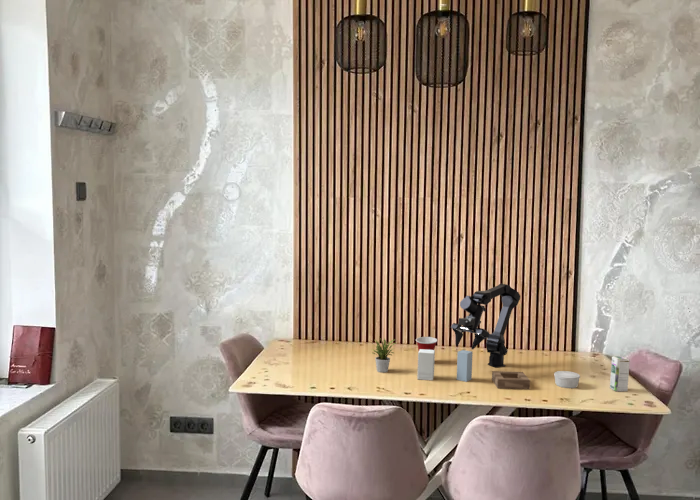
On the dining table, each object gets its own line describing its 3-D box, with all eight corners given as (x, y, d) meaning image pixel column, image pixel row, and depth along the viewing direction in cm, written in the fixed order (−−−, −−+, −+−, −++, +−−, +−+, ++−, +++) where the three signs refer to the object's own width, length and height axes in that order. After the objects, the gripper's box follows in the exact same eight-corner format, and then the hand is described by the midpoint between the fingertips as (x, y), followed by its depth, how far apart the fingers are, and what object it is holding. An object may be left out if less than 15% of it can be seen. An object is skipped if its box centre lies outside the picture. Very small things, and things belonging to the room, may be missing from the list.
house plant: (404, 369, 324) (405, 336, 323) (393, 376, 312) (394, 341, 310) (377, 366, 330) (377, 333, 329) (365, 372, 318) (366, 338, 316)
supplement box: (433, 380, 306) (434, 353, 305) (416, 379, 308) (417, 352, 307) (434, 376, 314) (435, 349, 313) (418, 375, 315) (419, 348, 314)
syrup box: (609, 387, 300) (611, 355, 299) (621, 387, 301) (623, 355, 300) (615, 391, 295) (617, 359, 293) (628, 391, 295) (630, 359, 294)
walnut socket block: (491, 379, 310) (492, 371, 310) (522, 380, 310) (522, 371, 309) (497, 388, 296) (498, 379, 296) (529, 389, 296) (530, 380, 295)
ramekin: (566, 390, 296) (567, 378, 295) (548, 383, 305) (548, 372, 305) (585, 387, 301) (585, 375, 300) (566, 381, 311) (567, 369, 310)
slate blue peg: (461, 377, 313) (462, 349, 312) (471, 379, 310) (472, 351, 309) (456, 379, 309) (457, 351, 308) (466, 381, 306) (467, 353, 305)
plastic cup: (412, 363, 336) (413, 340, 335) (418, 358, 346) (419, 335, 345) (433, 366, 332) (434, 342, 331) (439, 361, 342) (439, 338, 341)
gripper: (450, 307, 322) (439, 338, 318) (482, 313, 308) (471, 345, 305) (462, 316, 329) (452, 346, 325) (494, 322, 315) (483, 353, 312)
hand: (464, 347), depth 317 cm, fingers open, 9 cm apart
